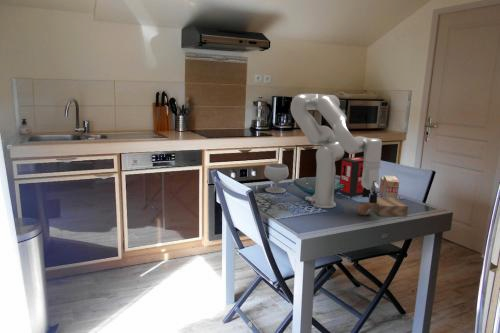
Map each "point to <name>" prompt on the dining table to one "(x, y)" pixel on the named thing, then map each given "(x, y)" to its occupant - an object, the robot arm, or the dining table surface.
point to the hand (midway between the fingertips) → (369, 199)
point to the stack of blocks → (389, 186)
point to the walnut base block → (389, 207)
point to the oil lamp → (365, 208)
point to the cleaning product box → (352, 176)
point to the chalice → (276, 176)
